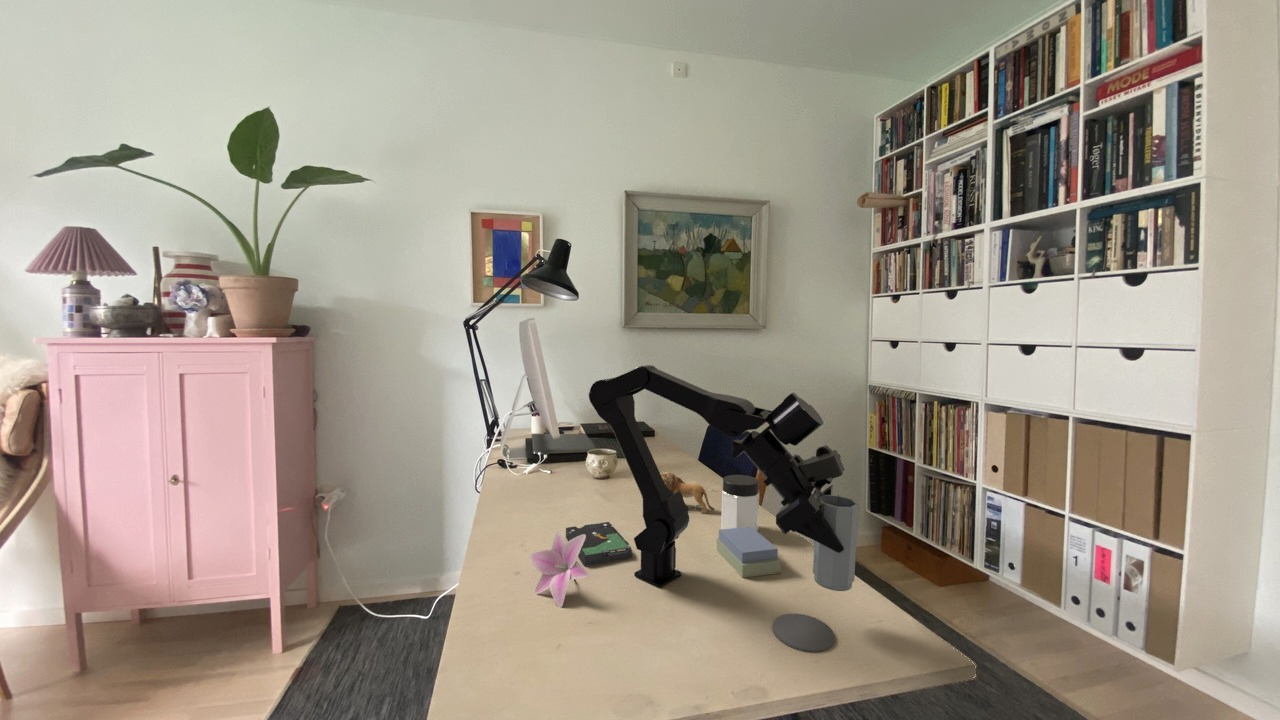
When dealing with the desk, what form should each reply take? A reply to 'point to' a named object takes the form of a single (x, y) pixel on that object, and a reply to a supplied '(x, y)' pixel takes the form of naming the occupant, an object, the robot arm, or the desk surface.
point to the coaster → (803, 632)
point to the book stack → (748, 552)
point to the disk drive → (600, 543)
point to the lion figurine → (686, 489)
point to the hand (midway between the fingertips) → (844, 543)
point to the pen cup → (843, 520)
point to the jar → (740, 502)
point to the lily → (559, 566)
